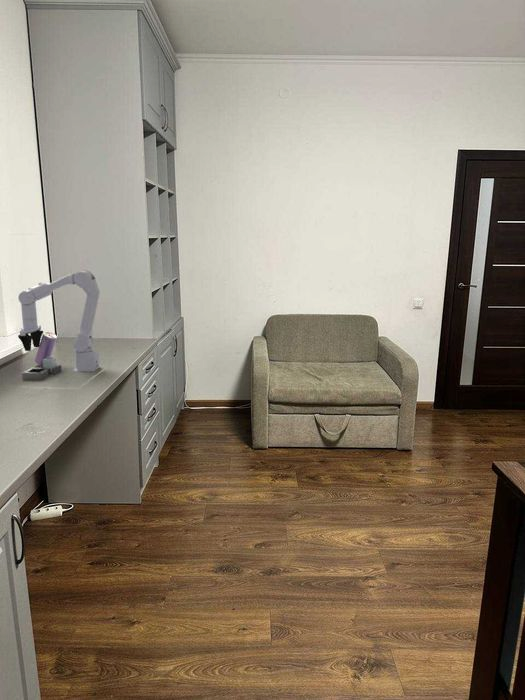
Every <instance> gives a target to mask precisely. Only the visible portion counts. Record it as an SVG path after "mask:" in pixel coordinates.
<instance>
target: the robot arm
mask: <svg viewBox="0 0 525 700" xmlns="http://www.w3.org/2000/svg"><path fill="white" fill-rule="evenodd" d="M67 285H77V286H78V287H79V288H81V289H82V290H83V292H85V294H86V298H85V304H84V309H83V314H82V318H81V323H80V328H79V330H78V333H77V336H76V338H75V339H74V340H73V348H74V355H75V368H74V369H73V372H74V371H75V372H95V371H96V370H97V369H99V368H100V358H99V352H98V351H97V350H93V348H92V345H93V342H94V339H93V326H94V321H95V317H96V313H97V307H98V304H99V298H100V294H101V293H100V288H99V286H98V283H97V280H96V277H95V275H94V274H93V273H92V272H91V271H89V270H82V271H77V272H75V273H71V274H67V275H65V276H63V277H59V278H58V279H57V280H55V281H52V282H50V283H47V282H38V285H35V286H33V287H28V289H27V290H23V291H22V292H20V293H19V294H18V296H17V297H18V302H19V303H20V306H21V307H20V308H21V318H22V327H21V328H20V331H19V334H18V335H17V337H18V339H19V340H20V342H21V343H22V346H23V349H24V351H25V352H31V350H32V346H33V348H39V345H40V342H41V339H42V336H43V334H44V330H42V325H40V324H38V316H37V306H36V303H37V301H40V300H42V299H45V298H47V297H48V296H51V295H52V294H53V291H55V290H57V289H59V288H62V287H64V286H67ZM32 344H33V345H32Z"/></svg>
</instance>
